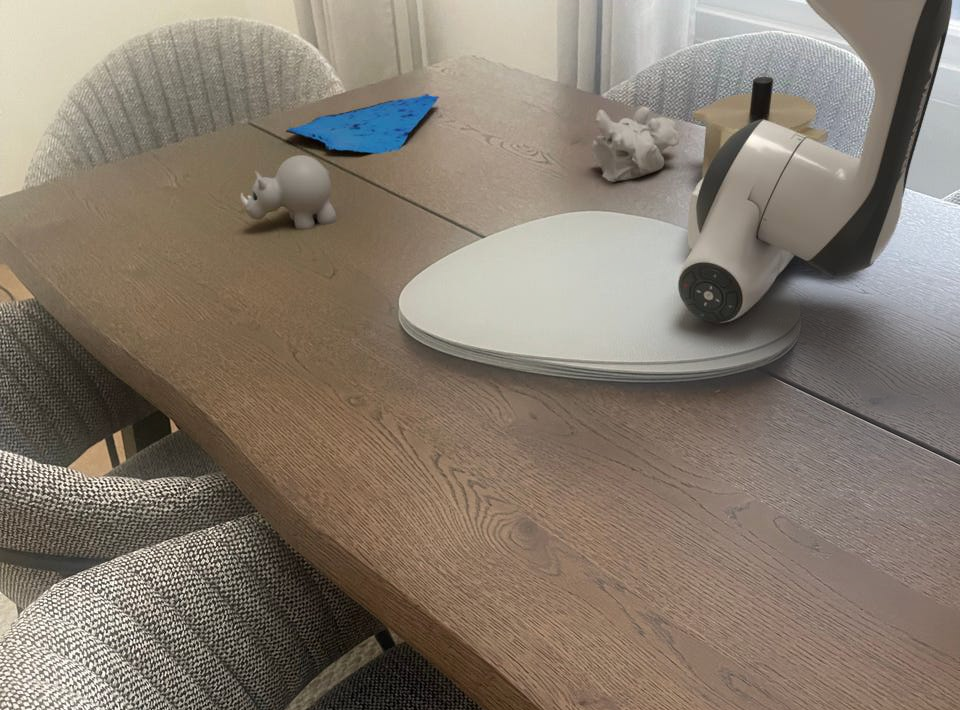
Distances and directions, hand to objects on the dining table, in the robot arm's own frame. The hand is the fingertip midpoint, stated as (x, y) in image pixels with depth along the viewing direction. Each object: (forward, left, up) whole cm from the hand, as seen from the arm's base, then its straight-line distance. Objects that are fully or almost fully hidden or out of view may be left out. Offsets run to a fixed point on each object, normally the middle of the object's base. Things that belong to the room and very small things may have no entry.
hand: (802, 183), depth 114 cm
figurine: (+7, -25, -5) cm, 26 cm away
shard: (+31, -67, -5) cm, 74 cm away
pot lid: (-3, -13, +3) cm, 14 cm away
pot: (-3, -13, -5) cm, 14 cm away
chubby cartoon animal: (+52, -39, -5) cm, 65 cm away
